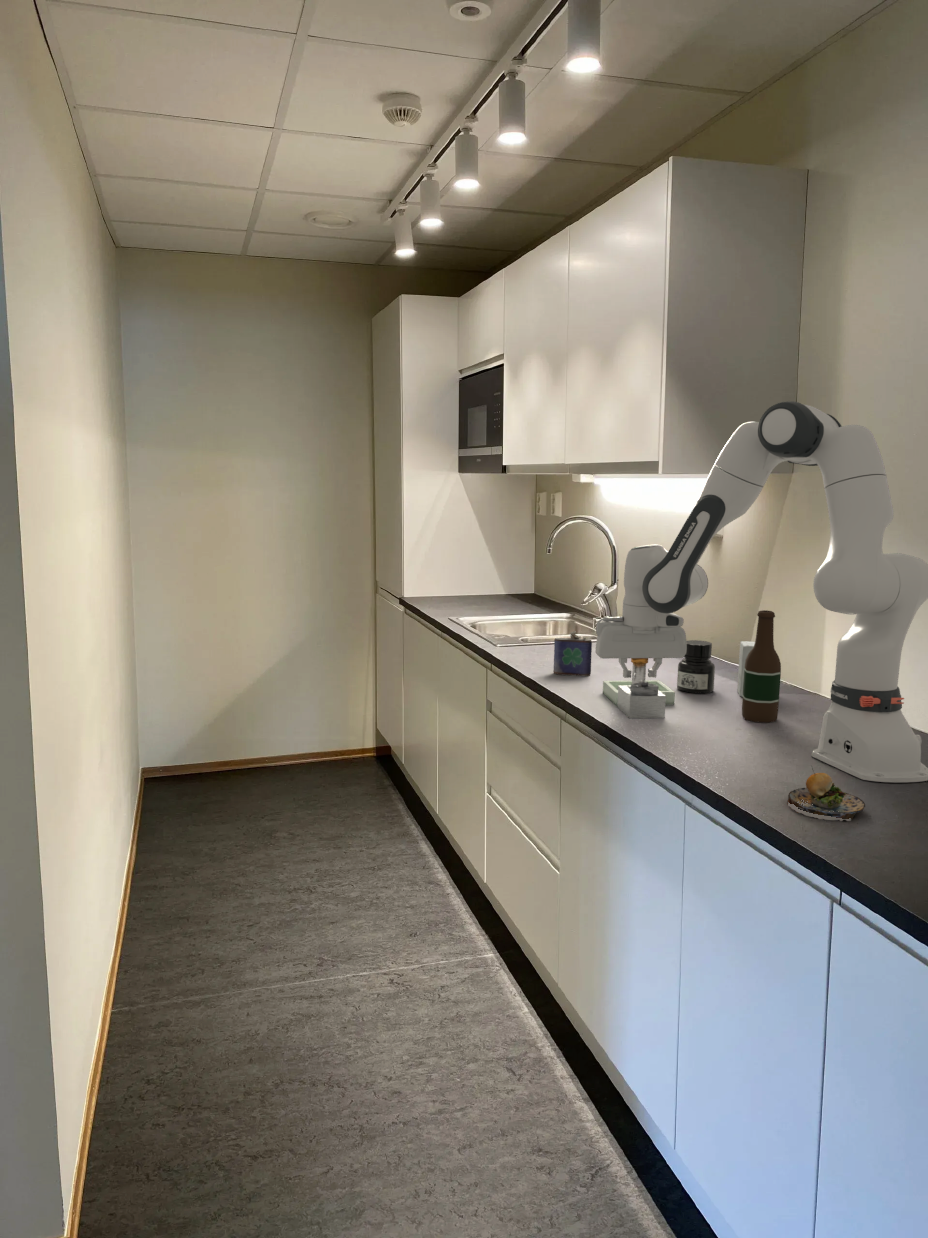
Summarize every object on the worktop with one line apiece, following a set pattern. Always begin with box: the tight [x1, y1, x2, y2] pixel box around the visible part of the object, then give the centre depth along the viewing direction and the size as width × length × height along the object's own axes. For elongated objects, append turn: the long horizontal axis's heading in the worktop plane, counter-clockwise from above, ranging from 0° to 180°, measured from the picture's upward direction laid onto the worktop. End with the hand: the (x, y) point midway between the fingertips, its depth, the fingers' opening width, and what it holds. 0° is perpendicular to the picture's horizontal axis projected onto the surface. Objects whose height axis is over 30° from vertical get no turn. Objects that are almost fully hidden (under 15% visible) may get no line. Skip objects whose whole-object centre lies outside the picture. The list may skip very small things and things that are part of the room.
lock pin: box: [630, 658, 649, 684], centre depth 211 cm, size 4×4×12 cm
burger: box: [787, 765, 866, 820], centre depth 151 cm, size 12×12×8 cm
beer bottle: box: [741, 609, 782, 724], centre depth 204 cm, size 8×8×24 cm
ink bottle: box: [676, 639, 716, 694], centre depth 231 cm, size 10×9×12 cm
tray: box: [602, 679, 676, 706], centre depth 222 cm, size 12×14×3 cm
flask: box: [553, 630, 593, 677], centre depth 247 cm, size 10×3×12 cm, turn 79°
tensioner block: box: [616, 682, 666, 719], centre depth 209 cm, size 10×8×7 cm
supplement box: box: [736, 640, 755, 698], centre depth 227 cm, size 7×7×13 cm
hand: (639, 677), depth 210 cm, fingers open, 4 cm apart
